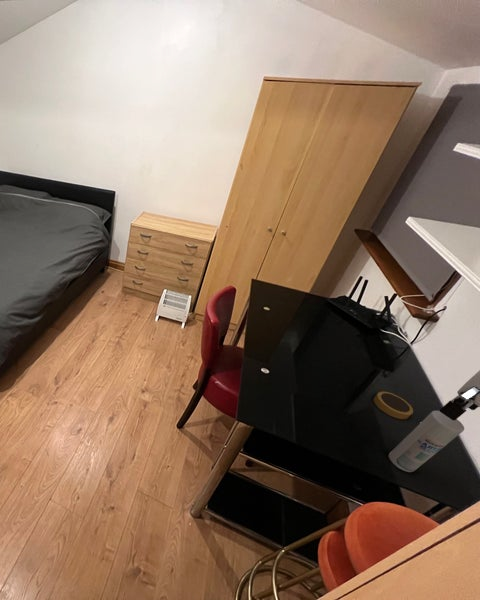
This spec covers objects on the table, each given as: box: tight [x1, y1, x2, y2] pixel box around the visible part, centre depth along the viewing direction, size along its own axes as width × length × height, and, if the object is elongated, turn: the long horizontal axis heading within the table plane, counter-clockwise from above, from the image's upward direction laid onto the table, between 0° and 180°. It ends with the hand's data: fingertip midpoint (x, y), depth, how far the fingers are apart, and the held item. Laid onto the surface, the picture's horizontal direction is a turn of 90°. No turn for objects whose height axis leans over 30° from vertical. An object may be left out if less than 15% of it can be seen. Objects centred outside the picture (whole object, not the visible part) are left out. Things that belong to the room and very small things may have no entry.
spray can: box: [388, 410, 465, 473], centre depth 91 cm, size 6×6×20 cm
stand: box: [373, 391, 414, 420], centre depth 114 cm, size 10×10×3 cm
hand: (456, 410), depth 84 cm, fingers open, 9 cm apart
